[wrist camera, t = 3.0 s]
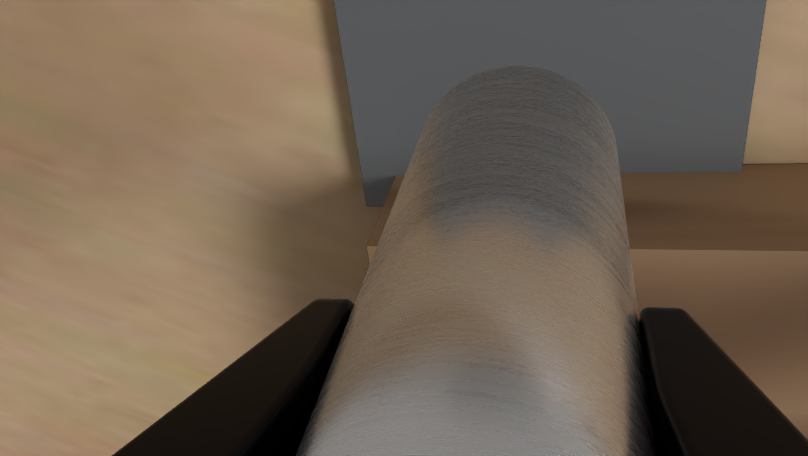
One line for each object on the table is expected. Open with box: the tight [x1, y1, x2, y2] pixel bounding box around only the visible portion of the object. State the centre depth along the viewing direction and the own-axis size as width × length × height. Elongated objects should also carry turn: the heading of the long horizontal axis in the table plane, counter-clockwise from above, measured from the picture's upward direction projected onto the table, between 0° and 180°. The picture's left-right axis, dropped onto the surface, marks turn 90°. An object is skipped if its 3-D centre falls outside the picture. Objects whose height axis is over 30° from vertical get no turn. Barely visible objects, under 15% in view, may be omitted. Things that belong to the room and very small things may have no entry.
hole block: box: [367, 164, 808, 439], centre depth 21 cm, size 14×14×4 cm
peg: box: [296, 66, 656, 456], centre depth 7 cm, size 3×3×10 cm
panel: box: [334, 0, 766, 206], centre depth 18 cm, size 10×10×1 cm
